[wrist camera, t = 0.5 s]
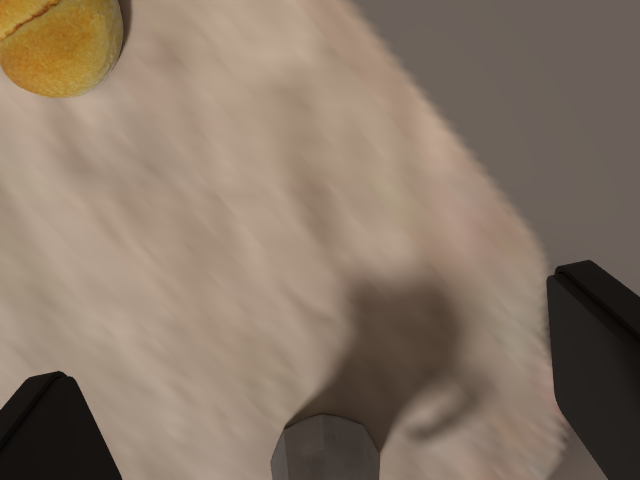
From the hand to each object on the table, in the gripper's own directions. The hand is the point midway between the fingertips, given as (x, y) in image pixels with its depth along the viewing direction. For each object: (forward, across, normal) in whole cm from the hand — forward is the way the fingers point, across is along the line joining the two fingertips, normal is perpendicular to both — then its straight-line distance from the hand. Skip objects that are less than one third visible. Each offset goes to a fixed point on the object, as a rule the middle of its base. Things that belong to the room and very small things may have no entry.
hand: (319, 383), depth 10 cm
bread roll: (+26, +14, -11) cm, 32 cm away
